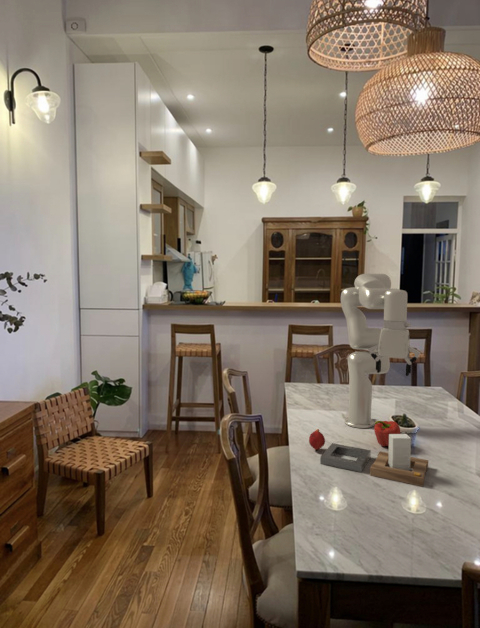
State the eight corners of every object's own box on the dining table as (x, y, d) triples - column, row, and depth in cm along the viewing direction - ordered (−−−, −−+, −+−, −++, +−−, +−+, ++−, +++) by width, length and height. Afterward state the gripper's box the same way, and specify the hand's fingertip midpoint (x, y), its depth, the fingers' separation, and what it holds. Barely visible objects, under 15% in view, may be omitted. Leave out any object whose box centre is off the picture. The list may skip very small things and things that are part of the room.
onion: (312, 453, 164) (313, 432, 163) (306, 447, 169) (306, 427, 168) (327, 452, 165) (327, 430, 164) (320, 446, 171) (320, 425, 170)
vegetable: (381, 452, 165) (382, 425, 164) (366, 442, 175) (367, 417, 174) (407, 449, 168) (408, 423, 167) (391, 439, 178) (391, 414, 177)
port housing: (379, 458, 160) (379, 450, 160) (428, 467, 153) (428, 459, 152) (370, 475, 147) (370, 466, 146) (422, 486, 139) (423, 477, 139)
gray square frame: (332, 449, 167) (332, 443, 167) (370, 457, 161) (370, 450, 161) (320, 463, 155) (320, 456, 155) (361, 472, 149) (361, 465, 148)
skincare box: (405, 468, 152) (406, 433, 151) (410, 473, 148) (411, 438, 147) (387, 468, 152) (388, 433, 151) (392, 473, 148) (393, 438, 147)
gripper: (422, 325, 156) (420, 374, 158) (371, 322, 164) (370, 369, 166) (420, 328, 150) (417, 378, 151) (367, 325, 158) (365, 373, 159)
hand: (393, 373), depth 159 cm, fingers open, 9 cm apart
